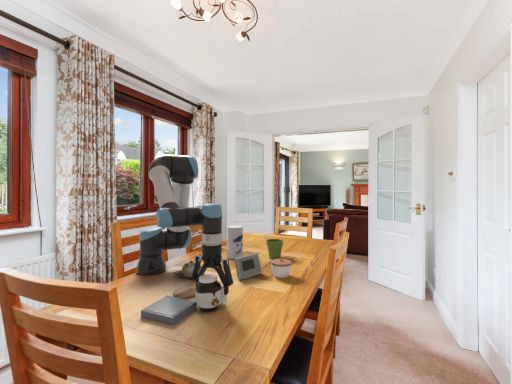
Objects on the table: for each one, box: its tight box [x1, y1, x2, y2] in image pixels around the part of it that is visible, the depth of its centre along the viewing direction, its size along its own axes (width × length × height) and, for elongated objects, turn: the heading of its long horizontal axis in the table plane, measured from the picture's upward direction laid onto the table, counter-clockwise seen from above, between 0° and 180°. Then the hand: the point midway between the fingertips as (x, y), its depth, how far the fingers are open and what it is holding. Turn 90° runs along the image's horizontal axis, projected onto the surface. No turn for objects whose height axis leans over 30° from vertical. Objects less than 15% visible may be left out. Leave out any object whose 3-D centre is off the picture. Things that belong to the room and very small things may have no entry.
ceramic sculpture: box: [173, 260, 203, 279], centre depth 140 cm, size 11×9×15 cm
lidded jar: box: [270, 257, 293, 279], centre depth 142 cm, size 11×11×9 cm
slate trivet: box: [140, 295, 198, 326], centre depth 102 cm, size 14×14×3 cm
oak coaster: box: [172, 286, 196, 300], centre depth 119 cm, size 10×10×1 cm
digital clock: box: [233, 252, 263, 281], centre depth 142 cm, size 16×9×11 cm, turn 122°
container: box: [226, 225, 244, 260], centre depth 177 cm, size 10×10×20 cm
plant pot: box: [265, 238, 285, 260], centre depth 177 cm, size 12×12×11 cm
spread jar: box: [194, 273, 223, 312], centre depth 107 cm, size 12×11×12 cm
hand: (211, 300), depth 107 cm, fingers closed on spread jar, 10 cm apart
